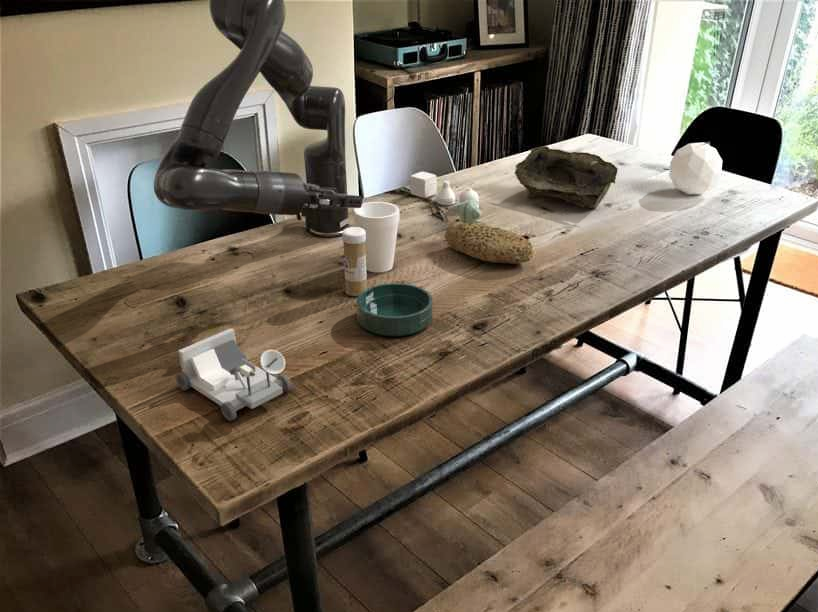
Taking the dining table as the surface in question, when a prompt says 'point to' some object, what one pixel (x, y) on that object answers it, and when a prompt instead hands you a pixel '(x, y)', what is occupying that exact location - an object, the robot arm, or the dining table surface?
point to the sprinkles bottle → (354, 260)
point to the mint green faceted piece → (468, 211)
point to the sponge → (489, 243)
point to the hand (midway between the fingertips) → (348, 197)
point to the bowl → (394, 309)
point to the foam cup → (378, 233)
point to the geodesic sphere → (695, 168)
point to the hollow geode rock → (566, 175)
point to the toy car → (231, 374)
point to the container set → (427, 186)
